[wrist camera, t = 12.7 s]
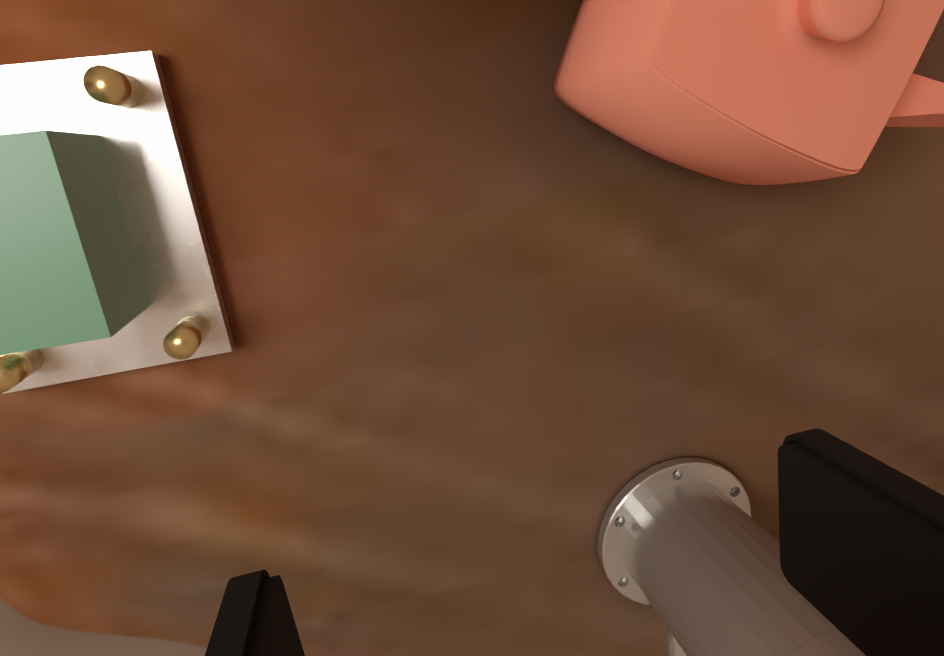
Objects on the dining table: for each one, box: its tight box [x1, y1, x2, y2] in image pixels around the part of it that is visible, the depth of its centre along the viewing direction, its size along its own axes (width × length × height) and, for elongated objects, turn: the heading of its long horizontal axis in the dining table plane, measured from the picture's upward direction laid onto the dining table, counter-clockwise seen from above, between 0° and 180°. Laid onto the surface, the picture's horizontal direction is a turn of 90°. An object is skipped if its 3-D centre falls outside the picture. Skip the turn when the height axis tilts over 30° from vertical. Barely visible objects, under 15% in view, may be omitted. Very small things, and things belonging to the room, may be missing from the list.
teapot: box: [552, 0, 944, 185], centre depth 30 cm, size 22×13×14 cm, turn 69°
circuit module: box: [0, 130, 150, 355], centre depth 28 cm, size 9×5×6 cm, turn 7°
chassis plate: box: [0, 51, 235, 394], centre depth 30 cm, size 16×12×4 cm
